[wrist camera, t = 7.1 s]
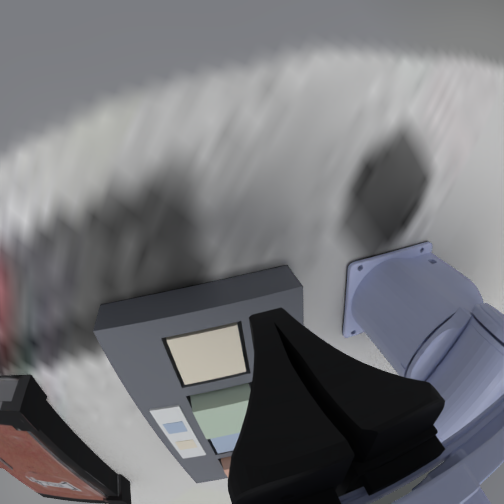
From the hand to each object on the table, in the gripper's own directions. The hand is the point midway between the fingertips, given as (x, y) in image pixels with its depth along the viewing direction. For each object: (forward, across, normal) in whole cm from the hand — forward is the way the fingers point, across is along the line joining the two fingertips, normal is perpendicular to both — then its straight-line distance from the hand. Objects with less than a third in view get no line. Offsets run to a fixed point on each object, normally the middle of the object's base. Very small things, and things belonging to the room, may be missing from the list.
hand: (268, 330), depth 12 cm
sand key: (+9, +3, +7) cm, 12 cm away
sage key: (+7, +3, +14) cm, 16 cm away
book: (+10, +30, +22) cm, 39 cm away
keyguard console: (+9, +3, +17) cm, 20 cm away
